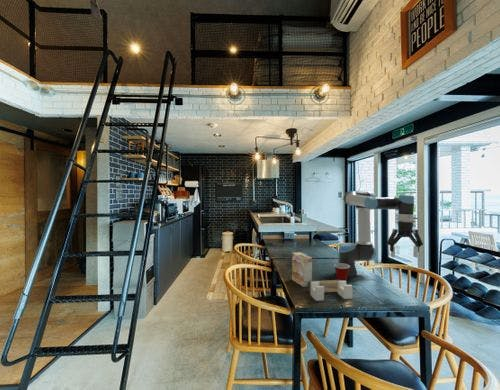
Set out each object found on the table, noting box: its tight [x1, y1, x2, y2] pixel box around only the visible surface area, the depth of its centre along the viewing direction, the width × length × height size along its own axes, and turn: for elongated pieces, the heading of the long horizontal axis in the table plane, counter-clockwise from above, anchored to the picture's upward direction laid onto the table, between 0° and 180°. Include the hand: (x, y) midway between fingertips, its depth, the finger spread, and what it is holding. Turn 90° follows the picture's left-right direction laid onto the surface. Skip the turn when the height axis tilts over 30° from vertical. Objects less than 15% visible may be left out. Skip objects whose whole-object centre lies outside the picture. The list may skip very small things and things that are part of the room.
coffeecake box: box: [291, 251, 313, 288], centre depth 172 cm, size 15×7×20 cm, turn 21°
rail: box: [306, 279, 340, 294], centre depth 159 cm, size 4×22×6 cm, turn 99°
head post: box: [310, 282, 325, 302], centre depth 149 cm, size 8×5×8 cm, turn 9°
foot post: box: [337, 280, 353, 300], centre depth 151 cm, size 8×5×8 cm, turn 9°
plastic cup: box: [333, 262, 350, 281], centre depth 175 cm, size 11×11×12 cm
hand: (404, 257), depth 145 cm, fingers open, 13 cm apart
